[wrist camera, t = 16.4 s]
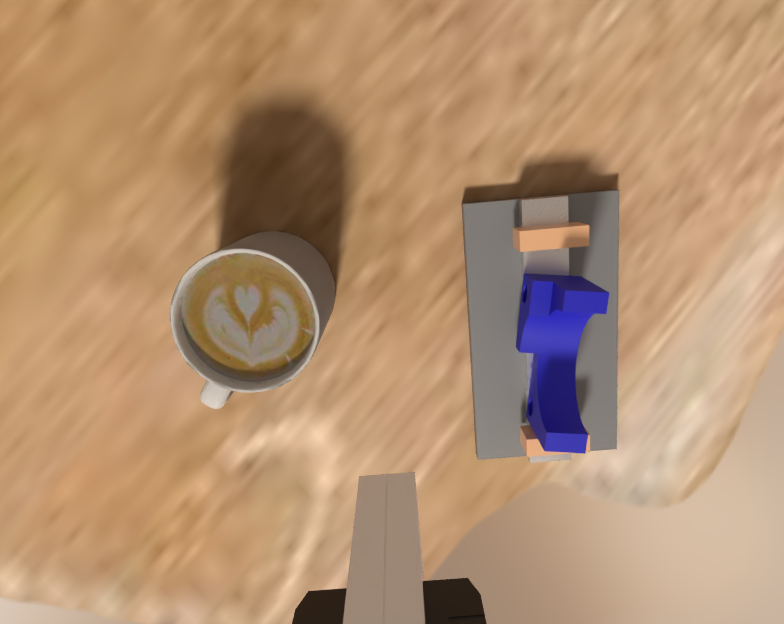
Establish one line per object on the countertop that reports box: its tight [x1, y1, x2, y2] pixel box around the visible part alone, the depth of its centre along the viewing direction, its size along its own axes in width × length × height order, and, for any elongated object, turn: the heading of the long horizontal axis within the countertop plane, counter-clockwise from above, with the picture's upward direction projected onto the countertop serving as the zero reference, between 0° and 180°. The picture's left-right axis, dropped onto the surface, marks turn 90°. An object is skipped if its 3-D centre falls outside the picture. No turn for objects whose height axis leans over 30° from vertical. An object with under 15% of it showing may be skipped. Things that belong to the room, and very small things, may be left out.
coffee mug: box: [170, 231, 335, 409], centre depth 43 cm, size 13×10×10 cm
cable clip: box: [516, 273, 609, 453], centre depth 43 cm, size 12×4×6 cm, turn 177°
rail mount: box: [462, 190, 619, 463], centre depth 45 cm, size 22×12×5 cm, turn 5°
